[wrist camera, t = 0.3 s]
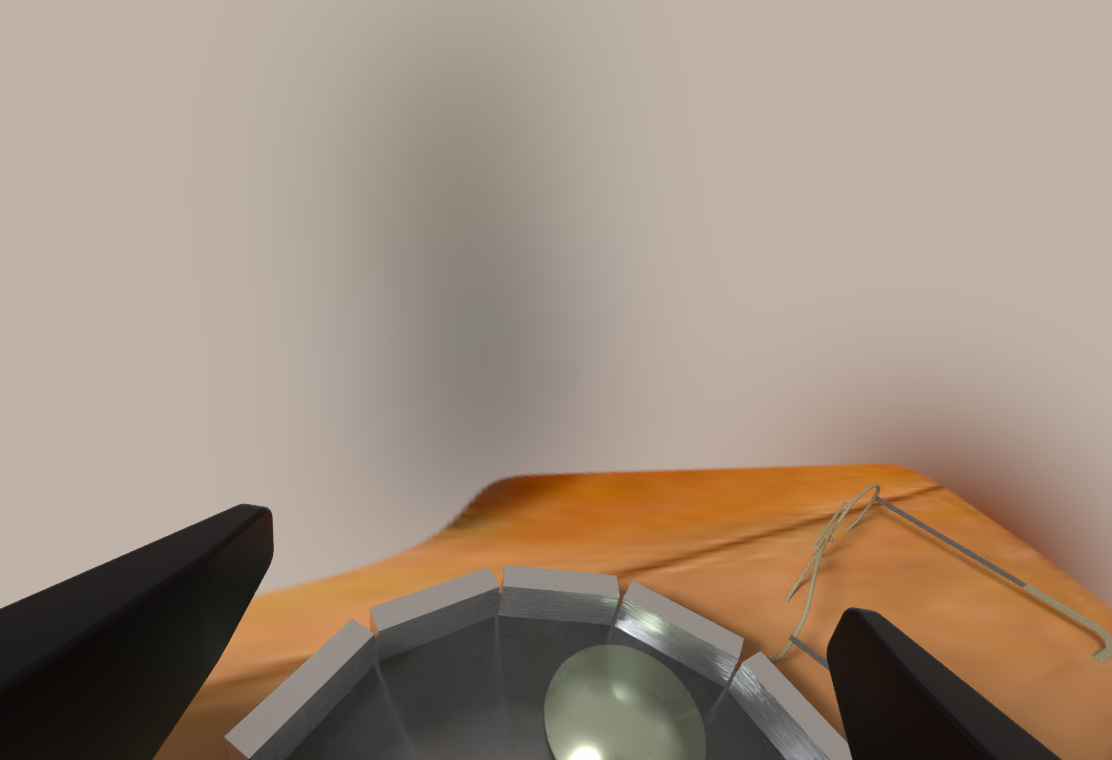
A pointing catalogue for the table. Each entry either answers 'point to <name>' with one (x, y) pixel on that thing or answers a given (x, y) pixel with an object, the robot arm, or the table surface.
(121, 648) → the robot arm
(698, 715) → the carrier plate
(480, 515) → the table surface
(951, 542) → the eyeglasses
